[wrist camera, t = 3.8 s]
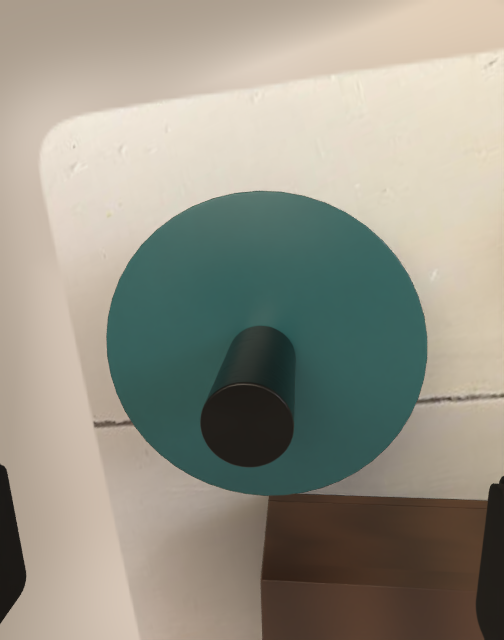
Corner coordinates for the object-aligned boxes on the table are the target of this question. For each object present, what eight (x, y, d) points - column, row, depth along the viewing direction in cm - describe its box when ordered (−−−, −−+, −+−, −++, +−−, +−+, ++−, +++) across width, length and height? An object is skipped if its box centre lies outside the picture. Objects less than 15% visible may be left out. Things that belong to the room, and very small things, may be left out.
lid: (131, 476, 21) (61, 596, 15) (100, 195, 18) (-7, 199, 12) (410, 485, 20) (461, 621, 14) (431, 185, 17) (511, 184, 11)
